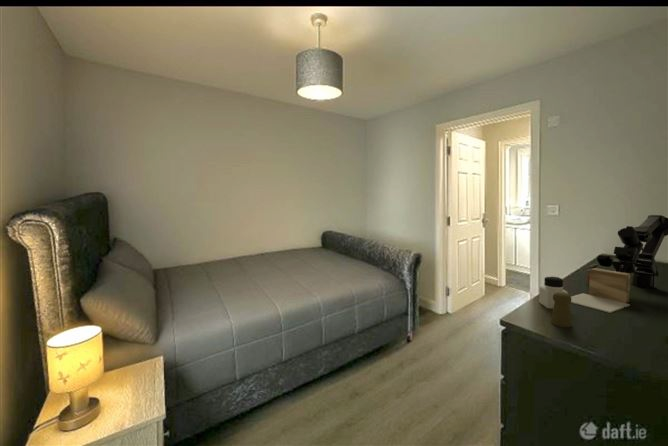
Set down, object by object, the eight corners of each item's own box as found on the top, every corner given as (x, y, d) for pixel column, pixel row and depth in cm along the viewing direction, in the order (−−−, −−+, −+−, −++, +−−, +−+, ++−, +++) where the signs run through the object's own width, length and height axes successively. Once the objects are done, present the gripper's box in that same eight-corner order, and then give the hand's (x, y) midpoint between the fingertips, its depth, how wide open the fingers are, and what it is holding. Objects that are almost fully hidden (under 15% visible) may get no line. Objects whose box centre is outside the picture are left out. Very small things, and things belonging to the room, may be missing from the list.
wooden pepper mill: (546, 320, 105) (547, 291, 104) (561, 319, 106) (562, 290, 105) (560, 327, 99) (561, 296, 98) (576, 326, 100) (577, 295, 99)
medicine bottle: (567, 309, 115) (568, 280, 114) (547, 308, 116) (548, 279, 115) (557, 303, 122) (558, 275, 121) (538, 302, 123) (539, 275, 122)
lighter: (593, 286, 142) (593, 266, 141) (584, 284, 145) (585, 265, 144) (600, 283, 146) (601, 264, 145) (592, 282, 149) (593, 263, 148)
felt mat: (582, 294, 131) (582, 293, 131) (629, 305, 117) (629, 304, 117) (562, 300, 125) (562, 299, 124) (609, 313, 110) (609, 311, 110)
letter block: (593, 293, 132) (594, 268, 131) (629, 301, 121) (630, 273, 120) (588, 295, 130) (589, 269, 129) (624, 303, 119) (625, 275, 118)
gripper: (599, 237, 137) (585, 263, 134) (655, 242, 120) (641, 272, 117) (606, 252, 141) (594, 277, 137) (662, 259, 124) (649, 288, 121)
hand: (617, 278), depth 128 cm, fingers closed
